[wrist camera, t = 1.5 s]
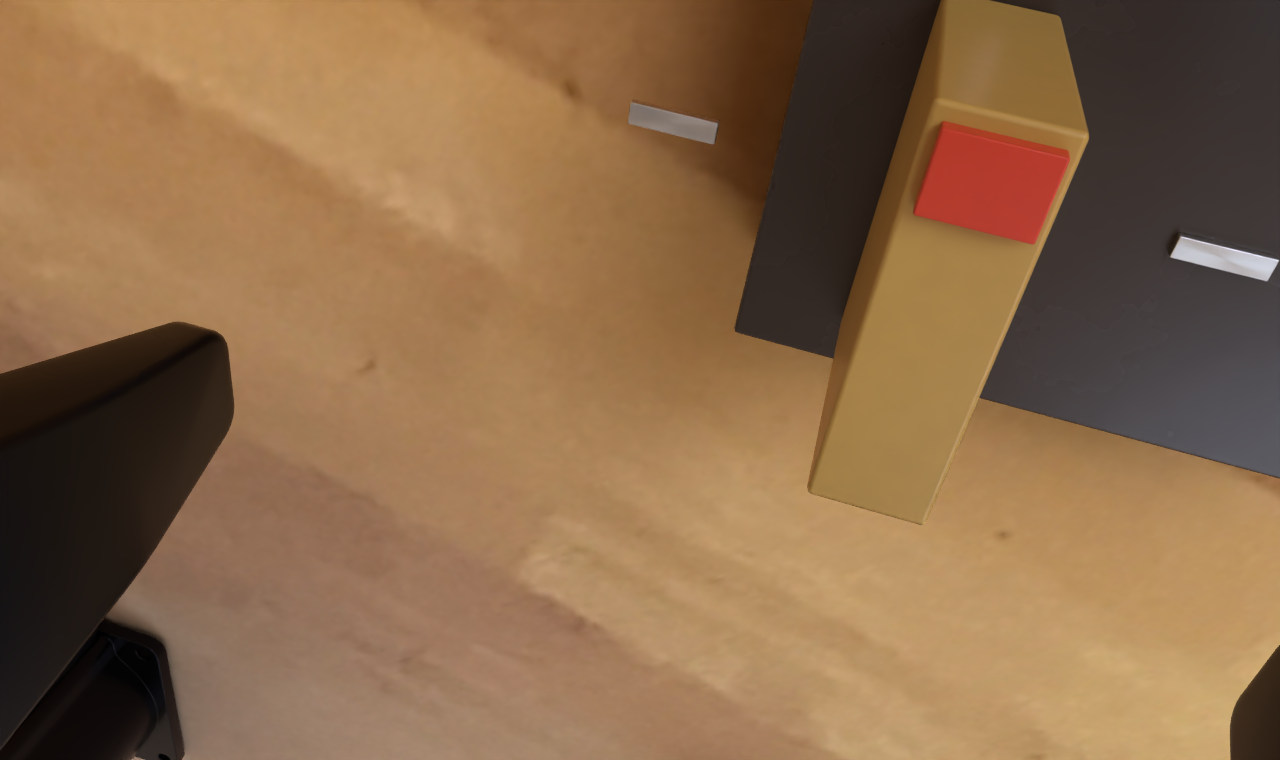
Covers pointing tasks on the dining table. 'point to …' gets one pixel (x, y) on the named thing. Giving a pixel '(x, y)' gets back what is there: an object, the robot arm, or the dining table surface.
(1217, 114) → the plate
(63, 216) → the dining table surface
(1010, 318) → the lock turn
